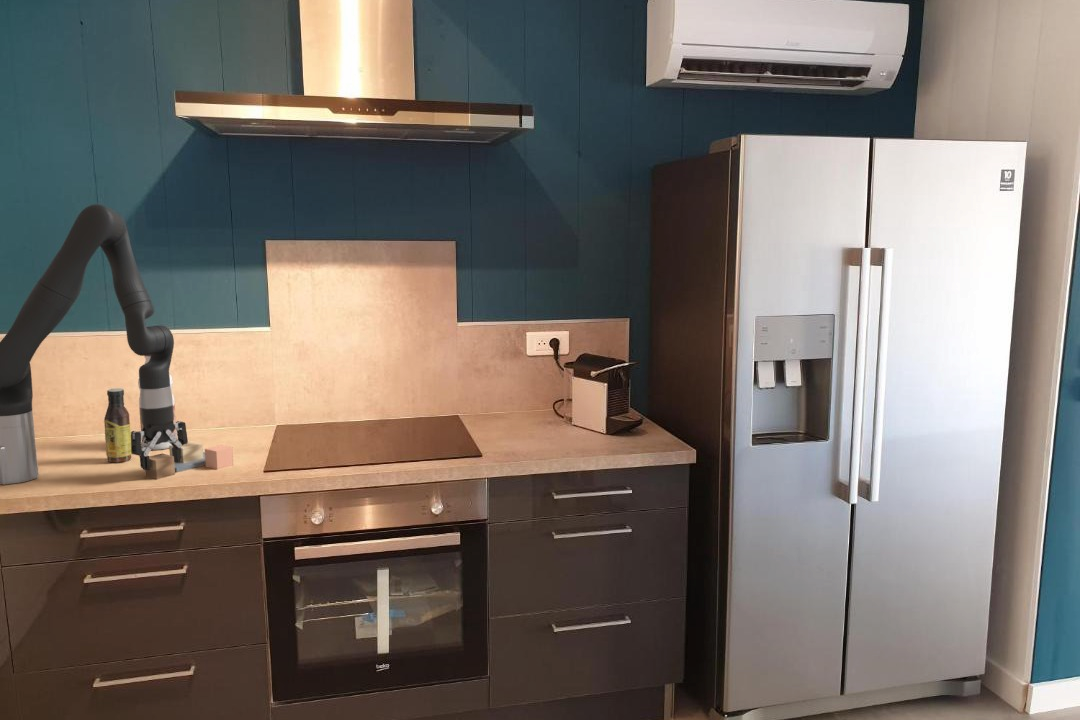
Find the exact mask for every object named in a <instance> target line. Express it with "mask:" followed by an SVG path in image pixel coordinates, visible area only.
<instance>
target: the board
mask: <svg viewBox="0 0 1080 720" xmlns="http://www.w3.org/2000/svg"><path fill="white" fill-rule="evenodd" d="M174 466H175V473H179V472H183V471H187V470H191V469H195V468H198V467H202V466H206V462H205V451H203V458H202V459H198V460H194V461H190V462H187V463H181V462H174Z"/></svg>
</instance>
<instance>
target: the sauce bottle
mask: <svg viewBox="0 0 1080 720" xmlns="http://www.w3.org/2000/svg"><path fill="white" fill-rule="evenodd" d="M106 392H107V393H106V396H107V401H108V404H107V405H108V406H107V409H106V412H105V415H104V439H105V451H106V453H105V454H106V457H107V460H106V461H108V462H109V463H113V464H115V463H124V462H128V461H131V460H132V455H133V454H132V453H131V432H132V429H131V422H130V421H131V420H130V412H129V410H128V409H127V407H125V402H124V401H125V399H124V397H125V390H124V389H123V388H116V387H115V388H109V389H108V390H106Z"/></svg>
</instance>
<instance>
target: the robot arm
mask: <svg viewBox="0 0 1080 720" xmlns="http://www.w3.org/2000/svg"><path fill="white" fill-rule="evenodd" d="M68 232H69V233H68V234H67V237H65V240H64V242H63V244H62V246H61V247H60V248H59V251H58V252H57V253H56V254H55V256H54V257H53V259H52V261H51V262H50V264H49V265H48V267H47V268H46V270H45V271H44V272H43V274H42V275H41V277H40V278H39V280H38V281H37V282H36V283H35V285H34V286H33V289H32V290H31V291H30V293H29V294H28V297H27V298H26V299H25V301H24V303H23V304H22V307H21V308H20V310H19V311H18V314H17V316H16V317H15V319H14V322H13V323H12V325H11V327H10V329H8V331H7V333H6V334H5V336H3V338H2V339H1V340H0V484H1V485H3V486H4V485H9V484H11V485H12V484H19V483H24V482H28V481H32V480H35V479H37V478H38V477H39V466H38V465H39V464H38V456H37V445H36V436H35V425H34V424H35V423H34V413H33V379H32V367H31V361H32V360H33V357H34V355H35V354H36V352H37V350H38V349H39V347H40V345H41V344H42V343H43V342H44V341H45V339H46V338H47V337H48V336H49V335H50V334H51V333H52V332H53V330H54V329H55V328H56V327H57V326H58V325H59V324H60V323H61V322H62V321H63V319H64V318H65V317H66V315H67V314H68V312H69V311H70V309H71V308H72V307H73V305H74V303H75V302H76V301H77V299H78V297H79V295H80V293H81V290H82V287H83V283H84V278H85V274H86V270H87V267H88V265H89V262H90V260H91V259H92V257H93V256H94V254H95V253H96V251H97V250H98V248H99V247H100V248H101V250H102V251H103V253H104V255H105V257H106V258H107V261H108V263H109V266H110V270H111V275H112V285H113V288H114V292H115V293H114V294H115V296H116V299H117V301H118V303H119V306H120V308H121V310H122V313H123V316H124V320H125V331H126V340H127V344H128V347H129V348H130V350H131V351H132V352H133V353H134V354H136V355H138V356H141V357H142V356H143V357H145V355H151V357H150V360H149V362H147V363H146V364H145V363H144V364H142V365H141V366H139V368H138V379H139V382H140V389H139V397H140V406H141V418H142V424H143V430H142V431H141V430H137V431H136V430H131V453H132V454H131V455H133V456H134V455H135V456H137V457H138V456H139V463H140V464H139V465H140V468H141V469H142V470H143V471H145V470H146V471H147V470H150V462H149V454H150V452H151V451H152V450H151V449H152V448H153V447H154V445H155V444H156V445H157V444H160V443H162V442H163V443H165V442H169V443H170V444H171V445H172V446H173V448H172V456H174V462H180V459H181V457H182V456H181V447H182V445H184V444H187V443H188V441H189V439H188V432H187V425H186V422H185V421H181V420H176V423H173V420H174V412H173V400H172V393H173V391H172V392H171V387H170V376H169V374H170V367H171V364H172V358H173V357H172V356H173V352H174V346H175V340H174V339H175V338H174V335H173V333H172V331H171V329H170V328H168V327H167V326H165V325H163V324H158V325H151V326H147V325H146V319H149V318H150V317H151V316H153V315H154V313H155V309H154V308H155V306H154V305H153V302H152V300H151V298H150V295H149V293H148V290H147V288H146V287H145V284H144V281H143V280H142V276H141V274H140V271H139V267H138V266H137V262H136V259H135V255H134V252H133V248H132V245H131V239H130V236H129V235H130V234H129V232H128V227H127V224H126V221H125V219H124V217H123V216H122V215H121V214H120V213H118V212H116V211H115V210H113V209H111V208H110V207H107V206H105V205H103V204H98V203H97V204H91V205H88V206H86V207H84V208H83V209H82V210H81V211H80V212H79V214H78V215H77V217H76V219H75V221H74V223H73V224H72V226H71V228H70V230H69V231H68ZM175 429H176V430H177V438H176V437H175V436H174V435H173V432H174V430H175ZM142 436H144V437H145V439H144V441H143V442H142V438H143V437H142ZM149 442H150V443H149ZM148 443H149V444H148Z"/></svg>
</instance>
